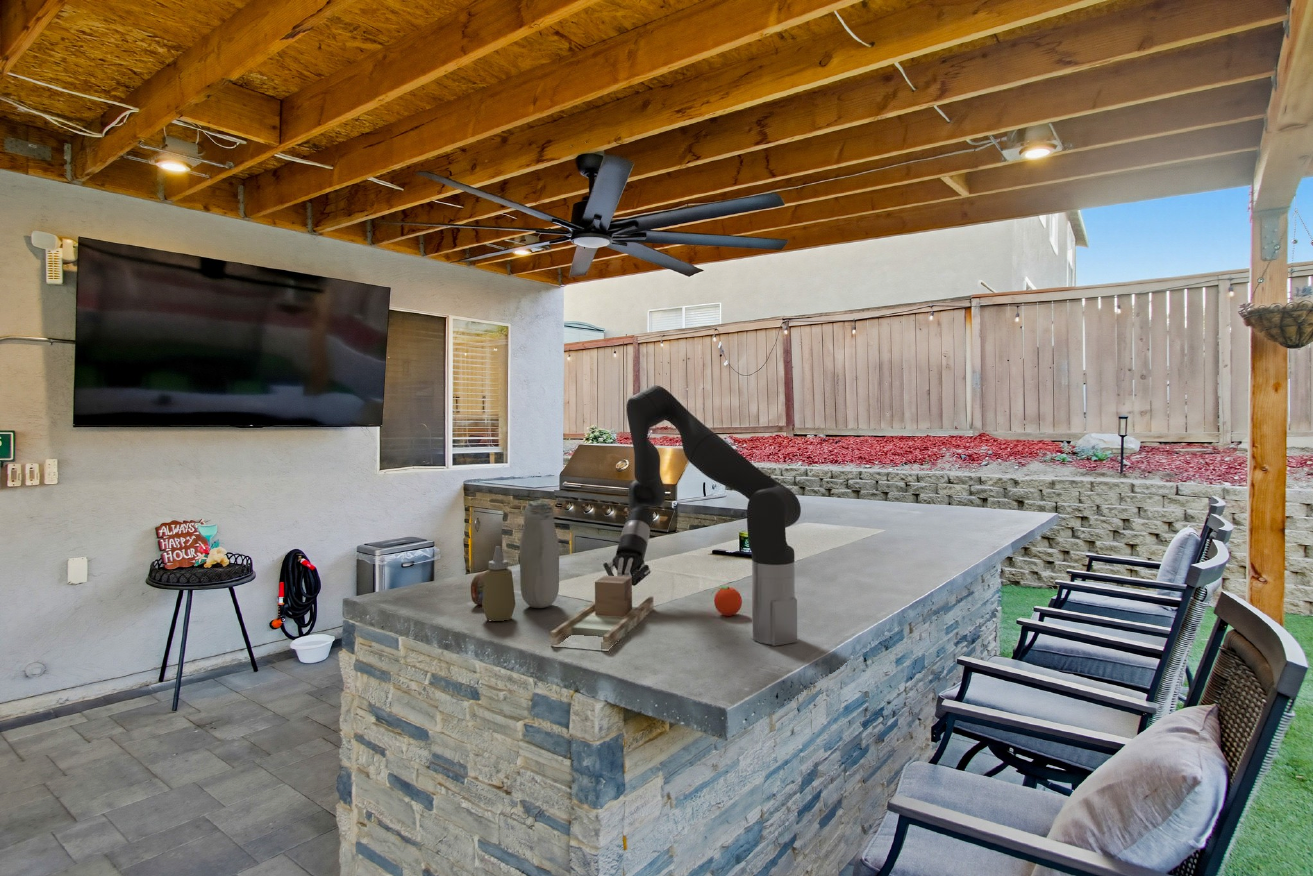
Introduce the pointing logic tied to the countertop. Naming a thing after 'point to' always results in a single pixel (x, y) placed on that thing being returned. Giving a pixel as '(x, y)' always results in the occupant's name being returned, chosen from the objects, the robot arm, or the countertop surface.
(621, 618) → the track
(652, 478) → the robot arm
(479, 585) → the tin
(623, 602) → the walnut block
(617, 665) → the countertop surface
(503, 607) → the squeeze bottle
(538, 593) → the grey vase
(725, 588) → the clementine
